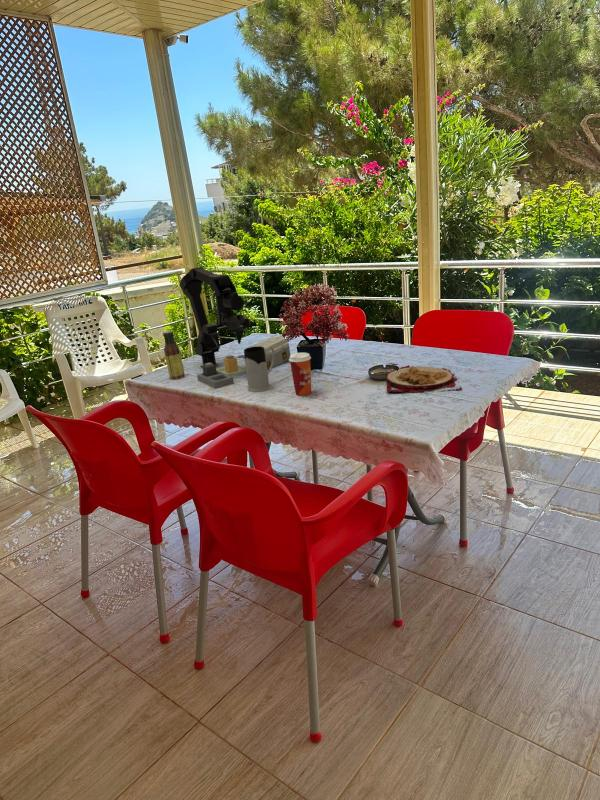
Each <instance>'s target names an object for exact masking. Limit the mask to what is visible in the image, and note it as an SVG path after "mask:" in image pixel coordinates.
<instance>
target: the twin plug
mask: <svg viewBox="0 0 600 800" xmlns="http://www.w3.org/2000/svg"><path fill="white" fill-rule="evenodd" d="M201 366H202V365H201ZM201 368H202V373H203V374H204V376H206V377H208V376H212V375H216V374H217V371H216V369H217V366H216V365H214V364H213V363H206V364H205V365H204V366H202V367H201Z"/></svg>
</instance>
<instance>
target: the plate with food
mask: <svg viewBox="0 0 600 800" xmlns="http://www.w3.org/2000/svg"><path fill="white" fill-rule="evenodd" d="M388 365H392V366H399V364H398V363H392V362H389V363H388ZM397 369H398V371H397V370H393V372H392V371H391V372H389V373H388V374H387V375H386V374H385V379H386V392H389V393H391V392H392V393H398V392H399V393H401V392H402V393H417V392H418V393H419V392H422V393H425V392H434V391H437V390H440V391H439V392H442V389H445V390H443V392H449V391H450V389H451V390H452V391H453V390H454V391H458V390H462V389H463V388H462V386H459V387H458V388H456V386H457V384H456V382H457V383H458V384H459V383H460V381H459V379H458V378H455V376H456V373H455V372H454V373H453V372H452V371H451V370H450V369H448V370H447V368H444V367H442V368H440V367H433V366H414V365H412V366H410V365H409V364H408V365H406V366H401V367H399V368H397ZM391 387H393V388H395V389H393V388H392V389H391ZM446 388H450V389H448V390H446ZM453 388H454V389H453Z"/></svg>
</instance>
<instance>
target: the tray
mask: <svg viewBox="0 0 600 800" xmlns="http://www.w3.org/2000/svg"><path fill="white" fill-rule="evenodd" d="M237 365H238V371H235V372H232V373H226V372H225V366H223V367H219V368H216V370H217V371H219V372H222V373H224V374H226V375H229V376H231V377H234V376H237V375H238V376H239V375H241V374H245V373H246V366H244V365H242V364H239V363H237Z"/></svg>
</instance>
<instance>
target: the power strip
mask: <svg viewBox="0 0 600 800" xmlns="http://www.w3.org/2000/svg"><path fill="white" fill-rule="evenodd" d="M216 371H217V370H216ZM196 376H197V377H196V378H197V381H198V382H200V383H202V384H205V385H206V386H209V387H211V388H213V389H215V390H216V389H220V388H223V387H226V386H230V385H233V384H235V381H234V376H229V375H226V374H224V373H222V372H219V371H217V374H216V375H212V376H208V377H206V376H204V374H203V372H201V373H197V374H196Z"/></svg>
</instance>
